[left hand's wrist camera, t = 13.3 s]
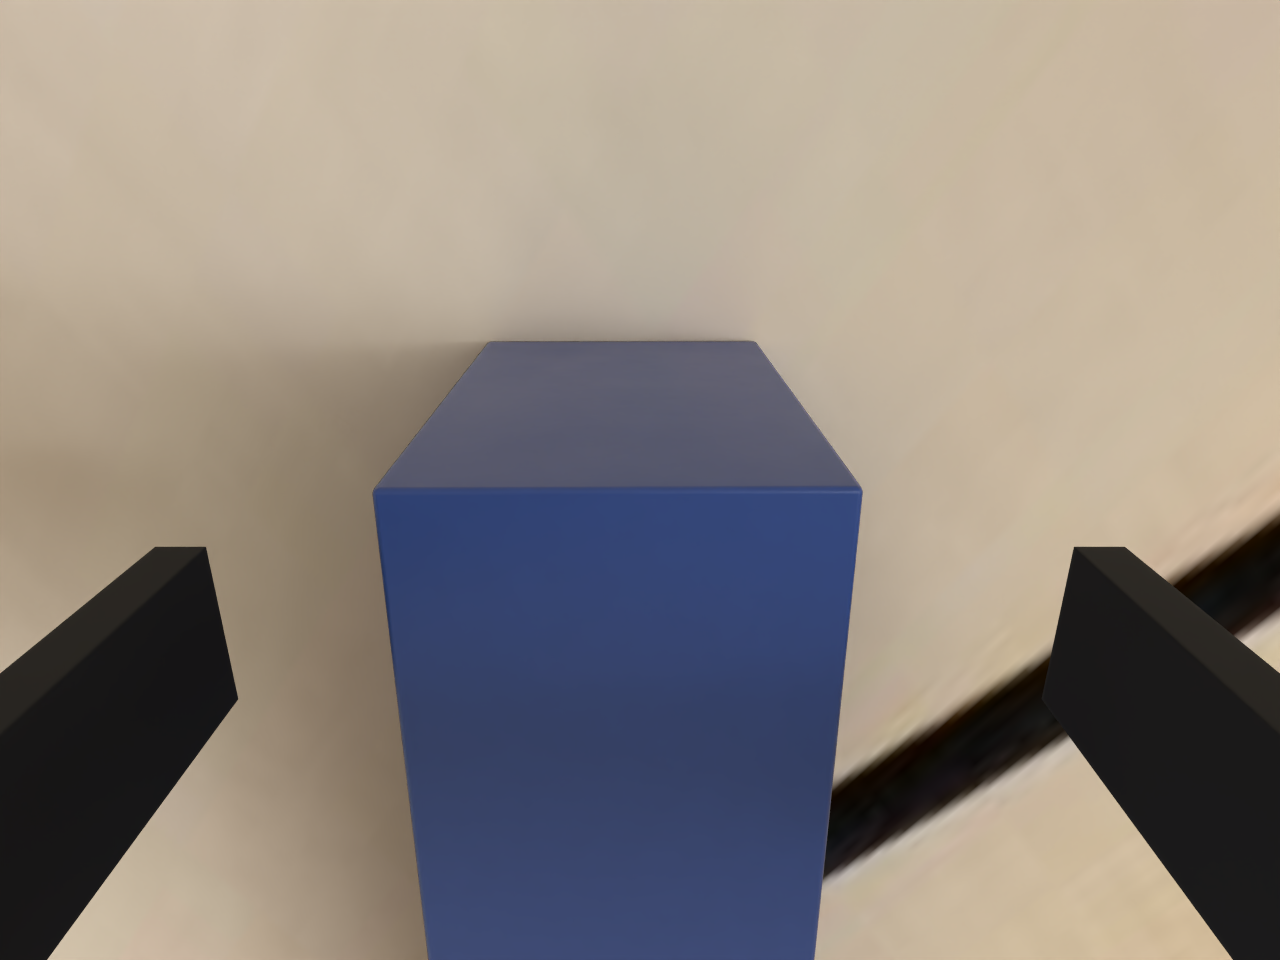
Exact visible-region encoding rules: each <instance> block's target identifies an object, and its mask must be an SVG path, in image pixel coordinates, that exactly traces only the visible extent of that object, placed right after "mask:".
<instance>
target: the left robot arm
mask: <svg viewBox="0 0 1280 960" xmlns="http://www.w3.org/2000/svg"><path fill="white" fill-rule="evenodd" d="M237 700H238V696H237V691H236V686H235V682H234V677H233V672H232V668H231V663H230V658H229V653H228V649H227V644H226V639H225V635H224V630H223V625H222V620H221V616H220V611H219V606H218V602H217V597H216V592H215V587H214V583H213V578H212V573H211V569H210V564H209V559H208V554H207V550H206V547H155V548H153V549H152V550H151V551H150V552H148V553H147V554H146V555H145V556H144V557H142V558H141V559H140V560H139V561H137V562H136V563H135V564H134V565H132V566H131V567H130V568H129V569H128V570H126V571H125V572H124V573H123V574H121V575H120V576H119V577H118V578H117V579H115V580H114V581H113V582H112V583H110V584H109V585H108V586H107V587H106V588H104V589H103V590H102V591H101V592H99V593H98V594H97V595H96V596H95V597H93V598H92V599H91V600H90V601H88V602H87V603H86V604H85V605H84V606H82V607H81V608H80V609H79V610H77V611H76V612H75V613H74V614H72V615H71V616H70V617H69V618H68V619H66V620H65V621H64V622H63V623H61V624H60V625H59V626H58V627H57V628H55V629H54V630H53V631H52V632H50V633H49V634H48V635H47V636H46V637H44V638H43V639H42V640H41V641H39V642H38V643H37V644H36V645H35V646H33V647H32V648H31V649H30V650H28V651H27V652H26V653H25V654H23V655H22V656H21V657H20V658H19V659H17V660H16V661H15V662H14V663H12V664H11V665H10V666H9V667H8V668H6V669H5V670H4V671H3V672H1V673H0V960H47V959H48V958H49V956H50V955H51V954H52V952H53V951H54V949H55V948H56V947H57V945H58V944H59V943H60V941H61V940H62V939H63V937H64V936H65V934H66V933H67V932H68V930H69V929H70V928H71V926H72V925H73V924H74V922H75V921H76V919H77V918H78V917H79V915H80V914H81V913H82V911H83V910H84V909H85V907H86V906H87V904H88V903H89V902H90V900H91V899H92V898H93V896H94V895H95V894H96V892H97V891H98V889H99V888H100V887H101V885H102V884H103V883H104V881H105V880H106V879H107V877H108V876H109V874H110V873H111V872H112V870H113V869H114V868H115V866H116V865H117V864H118V862H119V861H120V859H121V858H122V857H123V855H124V854H125V853H126V851H127V850H128V849H129V847H130V846H131V844H132V843H133V842H134V840H135V839H136V838H137V836H138V835H139V834H140V832H141V831H142V829H143V828H144V827H145V825H146V824H147V823H148V821H149V820H150V819H151V817H152V816H153V814H154V813H155V812H156V810H157V809H158V808H159V806H160V805H161V804H162V802H163V801H164V799H165V798H166V797H167V795H168V794H169V793H170V791H171V790H172V789H173V787H174V786H175V784H176V783H177V782H178V780H179V779H180V778H181V776H182V775H183V774H184V772H185V771H186V769H187V768H188V767H189V765H190V764H191V763H192V761H193V760H194V759H195V757H196V756H197V754H198V753H199V752H200V750H201V749H202V748H203V746H204V745H205V744H206V742H207V741H208V739H209V738H210V737H211V735H212V734H213V733H214V731H215V730H216V729H217V727H218V726H219V724H220V723H221V722H222V720H223V719H224V718H225V716H226V715H227V714H228V712H229V711H230V709H231V708H232V707H233V705H234V704H235V703H236V701H237ZM1042 700H1043V701H1044V703H1045V704H1046V705H1047V707H1048V708H1049V709H1050V711H1051V712H1052V714H1053V715H1054V716H1055V718H1056V719H1057V720H1058V722H1059V723H1060V724H1061V726H1062V727H1063V729H1064V730H1065V731H1066V733H1067V734H1068V735H1069V737H1070V738H1071V739H1072V741H1073V742H1074V744H1075V745H1076V746H1077V748H1078V749H1079V750H1080V752H1081V753H1082V754H1083V756H1084V757H1085V759H1086V760H1087V761H1088V763H1089V764H1090V765H1091V767H1092V768H1093V769H1094V771H1095V772H1096V774H1097V775H1098V776H1099V778H1100V779H1101V780H1102V782H1103V783H1104V784H1105V786H1106V787H1107V789H1108V790H1109V791H1110V793H1111V794H1112V795H1113V797H1114V798H1115V799H1116V801H1117V802H1118V804H1119V805H1120V806H1121V808H1122V809H1123V810H1124V812H1125V813H1126V814H1127V816H1128V817H1129V819H1130V820H1131V821H1132V823H1133V824H1134V825H1135V827H1136V828H1137V829H1138V831H1139V832H1140V834H1141V835H1142V836H1143V838H1144V839H1145V840H1146V842H1147V843H1148V844H1149V846H1150V847H1151V849H1152V850H1153V851H1154V853H1155V854H1156V855H1157V857H1158V858H1159V859H1160V861H1161V862H1162V864H1163V865H1164V866H1165V868H1166V869H1167V870H1168V872H1169V873H1170V874H1171V876H1172V877H1173V879H1174V880H1175V881H1176V883H1177V884H1178V885H1179V887H1180V888H1181V889H1182V891H1183V892H1184V894H1185V895H1186V896H1187V898H1188V899H1189V900H1190V902H1191V903H1192V904H1193V906H1194V907H1195V909H1196V910H1197V911H1198V913H1199V914H1200V915H1201V917H1202V918H1203V919H1204V921H1205V922H1206V924H1207V925H1208V926H1209V928H1210V929H1211V930H1212V932H1213V933H1214V934H1215V936H1216V937H1217V939H1218V940H1219V941H1220V943H1221V944H1222V945H1223V947H1224V948H1225V949H1226V951H1227V952H1228V954H1229V955H1230V956H1231V958H1232V959H1233V960H1280V673H1279V672H1277V671H1276V670H1275V669H1274V668H1272V667H1271V666H1270V665H1269V664H1268V663H1266V662H1265V661H1264V660H1263V659H1261V658H1260V657H1259V656H1258V655H1257V654H1255V653H1254V652H1253V651H1252V650H1250V649H1249V648H1248V647H1247V646H1245V645H1244V644H1243V643H1242V642H1241V641H1239V640H1238V639H1237V638H1236V637H1234V636H1233V635H1232V634H1231V633H1230V632H1228V631H1227V630H1226V629H1225V628H1223V627H1222V626H1221V625H1220V624H1219V623H1217V622H1216V621H1215V620H1214V619H1212V618H1211V617H1210V616H1209V615H1208V614H1206V613H1205V612H1204V611H1203V610H1201V609H1200V608H1199V607H1198V606H1196V605H1195V604H1194V603H1193V602H1192V601H1190V600H1189V599H1188V598H1187V597H1185V596H1184V595H1183V594H1182V593H1181V592H1179V591H1178V590H1177V589H1176V588H1174V587H1173V586H1172V585H1171V584H1170V583H1168V582H1167V581H1166V580H1165V579H1163V578H1162V577H1161V576H1160V575H1159V574H1157V573H1156V572H1155V571H1154V570H1152V569H1151V568H1150V567H1149V566H1148V565H1146V564H1145V563H1144V562H1143V561H1141V560H1140V559H1139V558H1138V557H1136V556H1135V555H1134V554H1133V553H1132V552H1130V551H1129V550H1128V549H1127V548H1125V547H1074V550H1073V554H1072V559H1071V564H1070V569H1069V573H1068V578H1067V583H1066V587H1065V592H1064V597H1063V602H1062V606H1061V611H1060V616H1059V620H1058V625H1057V630H1056V635H1055V639H1054V644H1053V649H1052V653H1051V658H1050V663H1049V668H1048V672H1047V677H1046V682H1045V686H1044V691H1043V696H1042Z"/></svg>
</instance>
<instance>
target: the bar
mask: <svg viewBox="0 0 1280 960" xmlns="http://www.w3.org/2000/svg"><path fill="white" fill-rule="evenodd" d="M862 494H863V491H862V488H861V486H860V485H859V483H858V482H857V481H856V479H855V478H854V477H853V475H852V474H851V472H850V471H849V470H848V468H847V467H846V466H845V464H844V463H843V461H842V460H841V459H840V457H839V456H838V455H837V453H836V452H835V450H834V449H833V448H832V446H831V445H830V444H829V442H828V441H827V439H826V438H825V437H824V435H823V434H822V433H821V431H820V430H819V428H818V427H817V426H816V424H815V423H814V422H813V420H812V419H811V417H810V416H809V415H808V413H807V412H806V411H805V409H804V408H803V406H802V405H801V404H800V402H799V401H798V400H797V398H796V397H795V395H794V394H793V393H792V391H791V390H790V389H789V387H788V386H787V384H786V383H785V382H784V380H783V379H782V378H781V376H780V375H779V373H778V372H777V371H776V369H775V368H774V367H773V365H772V364H771V362H770V361H769V360H768V358H767V357H766V356H765V354H764V353H763V351H762V350H761V349H760V347H759V346H758V345H757V343H756V342H489V343H487V345H486V346H485V347H484V349H483V350H482V351H481V352H480V354H479V355H478V356H477V358H476V359H475V360H474V361H473V363H472V364H471V365H470V367H469V368H468V369H467V370H466V372H465V373H464V374H463V376H462V377H461V378H460V379H459V381H458V382H457V383H456V384H455V386H454V387H453V388H452V390H451V391H450V392H449V393H448V395H447V396H446V397H445V399H444V400H443V401H442V402H441V404H440V405H439V406H438V408H437V409H436V410H435V411H434V413H433V414H432V415H431V417H430V418H429V419H428V420H427V422H426V423H425V424H424V426H423V427H422V428H421V429H420V431H419V432H418V433H417V434H416V436H415V437H414V438H413V440H412V441H411V442H410V443H409V445H408V446H407V447H406V449H405V450H404V451H403V452H402V454H401V455H400V456H399V458H398V459H397V460H396V461H395V463H394V464H393V465H392V467H391V468H390V469H389V470H388V472H387V473H386V474H385V475H384V477H383V478H382V479H381V481H380V482H379V483H378V484H377V486H376V487H375V488H374V490H373V502H374V510H375V518H376V527H377V535H378V543H379V552H380V560H381V568H382V577H383V585H384V593H385V602H386V610H387V619H388V627H389V635H390V644H391V652H392V660H393V669H394V677H395V685H396V694H397V702H398V710H399V719H400V727H401V735H402V744H403V752H404V760H405V769H406V777H407V785H408V794H409V802H410V810H411V819H412V827H413V835H414V844H415V852H416V861H417V869H418V877H419V886H420V894H421V902H422V911H423V919H424V927H425V936H426V944H427V952H428V960H814V957H815V948H816V938H817V928H818V919H819V909H820V899H821V890H822V880H823V870H824V861H825V851H826V841H827V832H828V822H829V813H830V803H831V793H832V784H833V774H834V764H835V755H836V745H837V735H838V726H839V716H840V706H841V697H842V687H843V677H844V668H845V658H846V648H847V639H848V629H849V619H850V610H851V600H852V590H853V581H854V571H855V561H856V552H857V542H858V533H859V523H860V513H861V504H862Z"/></svg>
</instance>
